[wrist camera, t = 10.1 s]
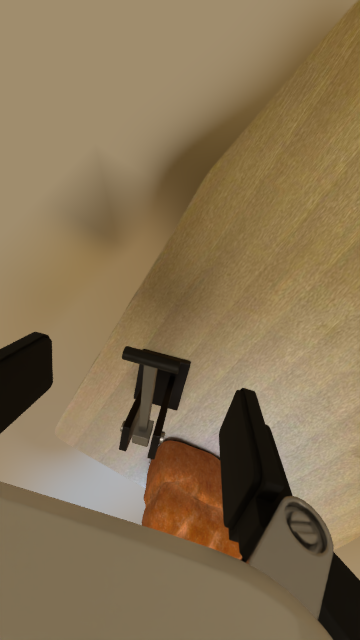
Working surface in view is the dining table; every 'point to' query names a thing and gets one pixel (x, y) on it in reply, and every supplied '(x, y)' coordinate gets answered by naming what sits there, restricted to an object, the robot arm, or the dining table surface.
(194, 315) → the dining table surface
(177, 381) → the bracket
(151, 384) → the lever
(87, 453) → the dining table surface
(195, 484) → the bread
